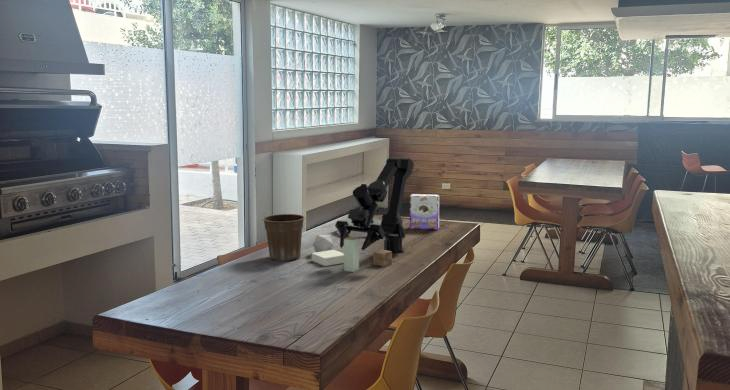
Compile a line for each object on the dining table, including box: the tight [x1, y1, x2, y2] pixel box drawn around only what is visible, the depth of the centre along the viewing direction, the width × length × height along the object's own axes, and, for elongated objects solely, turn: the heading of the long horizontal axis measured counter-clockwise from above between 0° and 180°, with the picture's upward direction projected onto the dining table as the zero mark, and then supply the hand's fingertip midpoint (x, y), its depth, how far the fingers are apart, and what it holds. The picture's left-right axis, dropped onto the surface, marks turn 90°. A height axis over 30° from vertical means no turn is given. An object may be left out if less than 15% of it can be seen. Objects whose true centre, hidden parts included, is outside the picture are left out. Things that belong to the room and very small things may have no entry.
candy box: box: [409, 193, 440, 231], centre depth 313 cm, size 14×6×16 cm, turn 77°
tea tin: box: [343, 237, 360, 273], centre depth 237 cm, size 4×4×12 cm
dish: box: [336, 218, 382, 238], centre depth 305 cm, size 22×22×5 cm
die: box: [312, 234, 335, 253], centre depth 262 cm, size 8×9×10 cm
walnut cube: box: [372, 249, 393, 267], centre depth 246 cm, size 5×5×5 cm
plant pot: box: [262, 213, 305, 262], centre depth 256 cm, size 16×16×16 cm
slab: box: [311, 249, 344, 267], centre depth 250 cm, size 10×10×3 cm
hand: (351, 248), depth 237 cm, fingers open, 9 cm apart
